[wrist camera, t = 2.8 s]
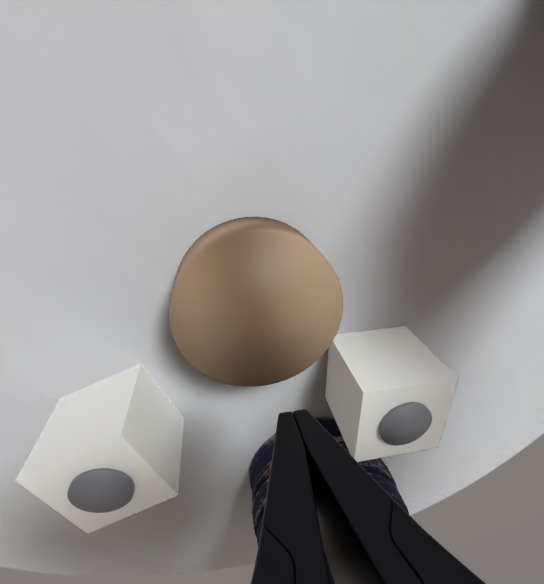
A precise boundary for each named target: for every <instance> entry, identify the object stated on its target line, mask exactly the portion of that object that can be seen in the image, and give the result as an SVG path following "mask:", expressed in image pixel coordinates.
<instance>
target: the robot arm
mask: <svg viewBox="0 0 544 584" xmlns="http://www.w3.org/2000/svg"><path fill="white" fill-rule="evenodd" d="M324 552H325V555H326V558H327V561H328V564H329V567H330V570H331V573H332V576H333V579H334V582H335V584H486V583H484V582H483V581H482V580H481V579H480V578H479V577H477V576H476V575H475V574H474V573H473V572H471V571H470V570H469V569H468V568H467V567H466V566H465V565H463V564H462V563H461V562H460V561H459V560H458V559H456V558H455V557H454V556H453V555H452V554H450V553H449V552H448V551H447V550H446V549H445V548H444V547H443V546H441V545H440V544H439V543H438V542H437V541H436V540H435V539H434V538H432V536H430V535H429V534H428V533H427V532H426V531H425V530H424V529H423V528H421V526H420V525H419V524H418V523H417V522H416V521H415V520H413V518H412V517H411V516H410V515H409V514H407V513H406V512H405V510H404V509H403V508H402V507H401V506H400V505H399V504H398V503H397V502H396V501H395V500H393V501H392V497H391V496H390V495H389V494H388V493H387V492H386V491H385V490H384V489H383V488H382V487H381V486H380V485H379V484H378V483H377V482H376V481H375V480H374V479H373V478H372V477H371V476H370V474H369V473H368V472H367V471H366V470H365V469H364V468H363V467H362V466H361V465H360V464H359V463H358V462H357V461H356V460H355V459H354V458H353V457H352V456H351V455H350V454H349V453H348V452H347V451H346V450H345V449H344V448H343V447H342V446H341V445H340V444H339V443H338V441H337V440H336V439H335V438H334V437H333V436H332V435H331V434H330V433H329V432H328V431H327V430H326V429H325V428H324V427H323V426H322V425H321V424H320V423H319V422H318V421H317V420H316V419H315V418H314V417H313V416H312V415H311V414H310V413H309V412H308V411H307V410H305V409H303V410H297V411H294V412H293V413H292V412H284V413H280V414H279V416H278V422H277V429H276V435H275V442H274V449H273V455H272V462H271V468H270V475H269V482H268V488H267V495H266V502H265V508H264V515H263V521H262V528H261V534H260V540H259V547H258V552H257V557H256V563H255V568H254V573H253V577H252V581H251V584H330V583H329V577H328V572H327V566H326V560H325V555H324Z"/></svg>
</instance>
